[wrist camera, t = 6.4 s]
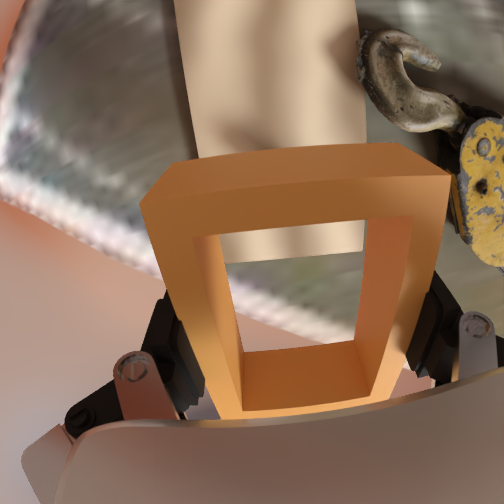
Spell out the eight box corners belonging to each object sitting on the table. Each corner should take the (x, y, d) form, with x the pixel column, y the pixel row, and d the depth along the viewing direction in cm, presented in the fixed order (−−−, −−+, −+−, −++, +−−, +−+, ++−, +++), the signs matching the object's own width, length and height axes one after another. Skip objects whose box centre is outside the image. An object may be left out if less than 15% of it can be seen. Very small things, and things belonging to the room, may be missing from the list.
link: (397, 142, 9) (451, 175, 6) (370, 349, 14) (386, 402, 11) (172, 162, 9) (139, 203, 6) (226, 365, 14) (223, 422, 12)
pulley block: (435, -36, 8) (586, 221, 16) (401, -24, 12) (559, 192, 20) (308, 125, 16) (509, 301, 24) (302, 104, 21) (490, 266, 29)
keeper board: (326, -92, 10) (347, -133, 4) (357, 241, 26) (382, 292, 20) (169, -78, 11) (140, -116, 5) (222, 254, 27) (212, 309, 21)
